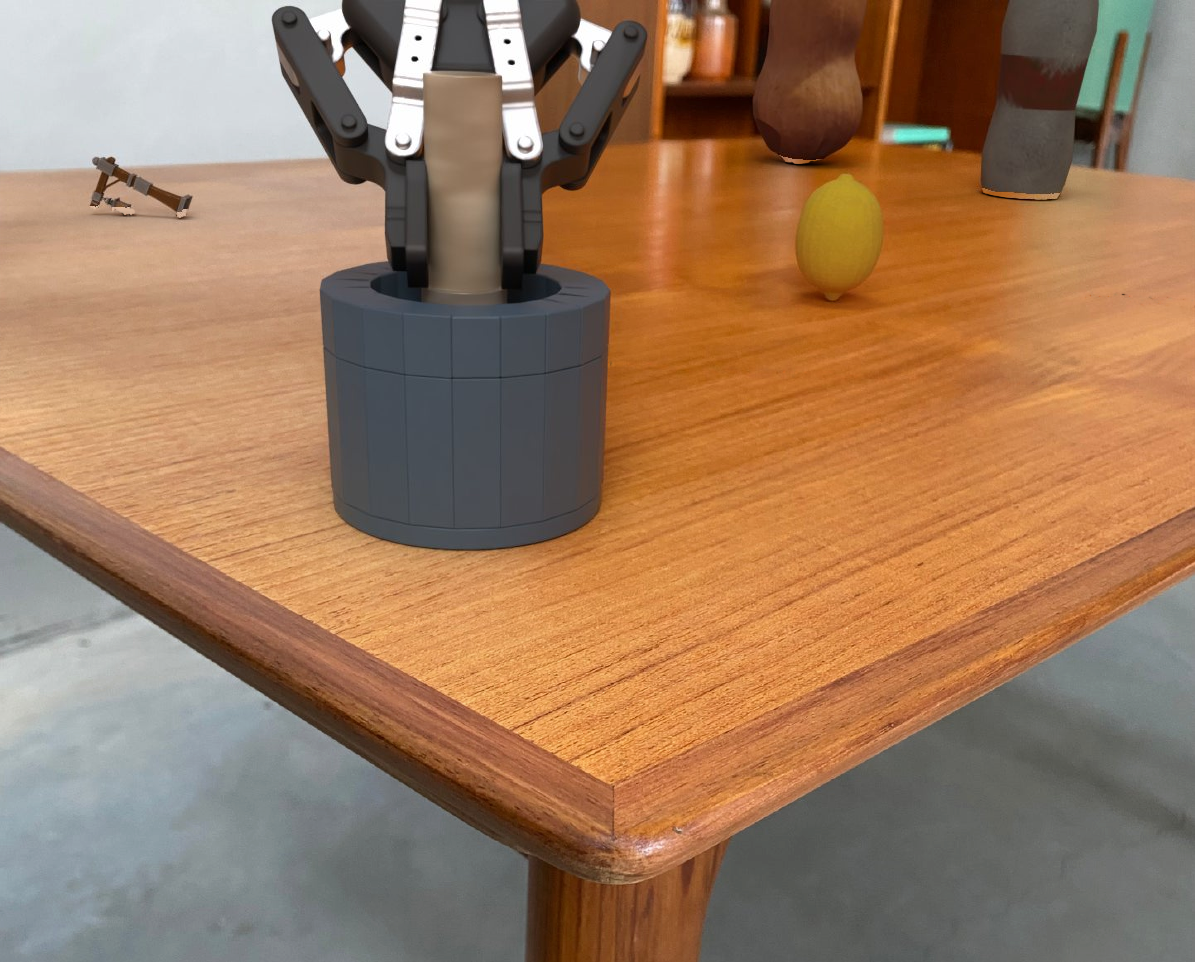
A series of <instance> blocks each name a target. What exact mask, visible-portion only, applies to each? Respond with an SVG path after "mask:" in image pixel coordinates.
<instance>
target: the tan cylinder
mask: <svg viewBox="0 0 1195 962" xmlns="http://www.w3.org/2000/svg"><path fill="white" fill-rule="evenodd" d="M502 86H503V77H502V75H500V74H495V73H484V72H465V71H427V72H424V73H423V118H424V161H425V162H426V166H427V203H428V253H429V288H421V291H422V303H435V304H449V305H499V304H507V289H501V267H500V221H501V163H502Z"/></svg>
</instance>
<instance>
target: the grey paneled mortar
mask: <svg viewBox="0 0 1195 962" xmlns="http://www.w3.org/2000/svg"><path fill="white" fill-rule="evenodd" d="M611 295H612V291H611V289H610V287H609V286H608V285H607V284H606V283H605V281H604V280H603V279H601V278H598V277H597V276H594V275H591V274H588V273H586V272H583V271H581V270H576V269H572V268H567V267H564V266H563V267H562V266H558V265H554V264H549V263H548V264H547V263H542V262H541V263H540V265H539V268H538V270H537V272H536V274H523V277H522V289H521V290H509V289H507V304H499V305H449V304H435V303H422V291H421V288H408V281H407V272H406V271H393V270H392V268H391V266H390V263H389V261H388V260H386V261H385V260H384V261H378V262H377V261H376V262H370V263H365V264H361V265H357V266H352V267H349V268H345V269H341V270H336V271H334V272H333V273H331V274H329V275H327V276H326V277H324V278H321V281H320V286H319V305H320V319H321V321H320V322H321V335H322V336H321V337H322V346H323V347H322V353H323V369H324V384H325V386H324V387H325V403H326V404H325V405H326V418H327V419H326V420H327V433H328V436H327V437H328V451H329V452H328V453H329V466H330V467H329V469H330V485H331V489H332V503H333V506H334V509H335V511H336V513H337V514H338V516H339V517H340V518H341V519H342V520H343V521H344V522H346V523H347V524H348V525H350V526H351V527H353V528H355V529H356V530H359V531H360V532H362V533H365V534H367V535H370V536H372V537H375V538H378V539H380V540H386V541H390V542H393V543H397V544H402V545H408V546H412V547H419V548H430V549H439V550H440V549H441V550H457V551H458V550H459V551H460V550H461V551H463V550H465V551H473V550H494V549H496V550H497V549H504V548H505V549H507V548H512V547H521V546H526V545H532V544H536V543H541V542H545V541H548V540H552V539H556V538H559V537H561V536H564V535H567V534H569V533H571V532H573V531H576V530H577V529H579V528H581V527H583V526H584V525H586V524H587V523H589V522H590V521H591V520H592V519H593V518H594V517H595V516H596V514H597V513H598V512H599V509H600V508H601V503H602V487H603V486H602V485H603V483H604V473H605V471H604V470H605V449H606V448H605V445H606V444H605V443H606V421H607V394H608V372H609V369H608V368H609V344H610V324H611V323H610V322H611V321H610V320H611V319H610V318H611Z"/></svg>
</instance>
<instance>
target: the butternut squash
mask: <svg viewBox="0 0 1195 962" xmlns="http://www.w3.org/2000/svg"><path fill="white" fill-rule="evenodd" d="M867 3H868V0H770V3H769V5H770V6H769V24H768V26H769V27H768V31H769V32H768V37H767V38H768V39H767V47H766V56H765V59H764V62H763V65H762V68H761V71H760V73H759V75H758V77H757V81H756V85H755V89H754V94H753V96H752V115H753V118H754V119H753V120H754V121H755V124H756V126H757V129H758V131H759V133H760V135H761V138H762V140H763V142H764V143H765V145H766V146H767V148H768V149H769V150H770V151H771V152H773V153H774V154H776V155H777V156H779V155H781V156H783V157H788V158H792V159H803V160H816V159H823V160H824V159H826V158H827V157H829V156H831V155H832V154H834V153H837V152H838V151H840V150H841V149H843V148H844V147H846V146H847V144H849V143H850V142H851V140H852V139H853V137H854V136H855V134H856V132H858V129H859V127H860V124H861V121H862V118H863V117H862V116H863V106H864V105H863V92H862V87H861V80H860V78H859V73H858V70H857V65H856V58H855V57H856V51H857V47H858V43H859V40H860V37H861V33H862V29H863V26H864V23H865V17H866V12H867V11H866V10H867Z"/></svg>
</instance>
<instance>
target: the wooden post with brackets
mask: <svg viewBox="0 0 1195 962" xmlns="http://www.w3.org/2000/svg"><path fill="white" fill-rule="evenodd" d="M116 161H117V159H116V158H115V157H113V156H109V157H107V158H106V157H105V156H101V157H100V156H94V157H93V158H92V161H91V163H92V164H93V165H94V166H96V167H95V169H96V170H99V171H101V173H100V175H99V178H98V181H97V184H96V187H95V190H93V191H92V195H91V197H90V199H91V200H90V204H89V206H95V207H96V206H98V205H99V206H100V205H101V202H102V201H104V203H105V204H106V206H110V208H111V207H125V208H127V207H130V208H132V203H127V202H126V201H122V200H121V197H116V198H112V197H104V196H105V192H106V190H107V189H108V188H111V187H112V186H113V185H116V184H118V183H119V182H121V183H124V184H126V185H125V186H126V187H128V188H132V190H133V191H137V192H139V193H141V194H142V195H143V196H145V197H148V196H149V197H151V198H153V199H155V200H156V201H158V202H159V203H161V204H163V205H165V206H166V207H168V208H170V209H171V210H172V211H174V212H175V213H177V212H182V210H183V209H188V210H190V209H189V208H190V205H191V203H192V200H193V197H194V195H190V194H188V193H187V194H185V195H183V196H182V195H178V194H176V193H172V192H170V191H167V190H164V189H163V188H159V187H157V186H155V185H154V183H153V182H150V181H148V180H146V179H144V178H143V177H142V176H138V174H135V172H133V173H130V172H129V171H127V170H125V169H123V168H121V167H120V166H119V164H118V163H116ZM110 177H114V178H116V179H115V180H114V181H112V182H110V183H108V181H109V178H110Z"/></svg>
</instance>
